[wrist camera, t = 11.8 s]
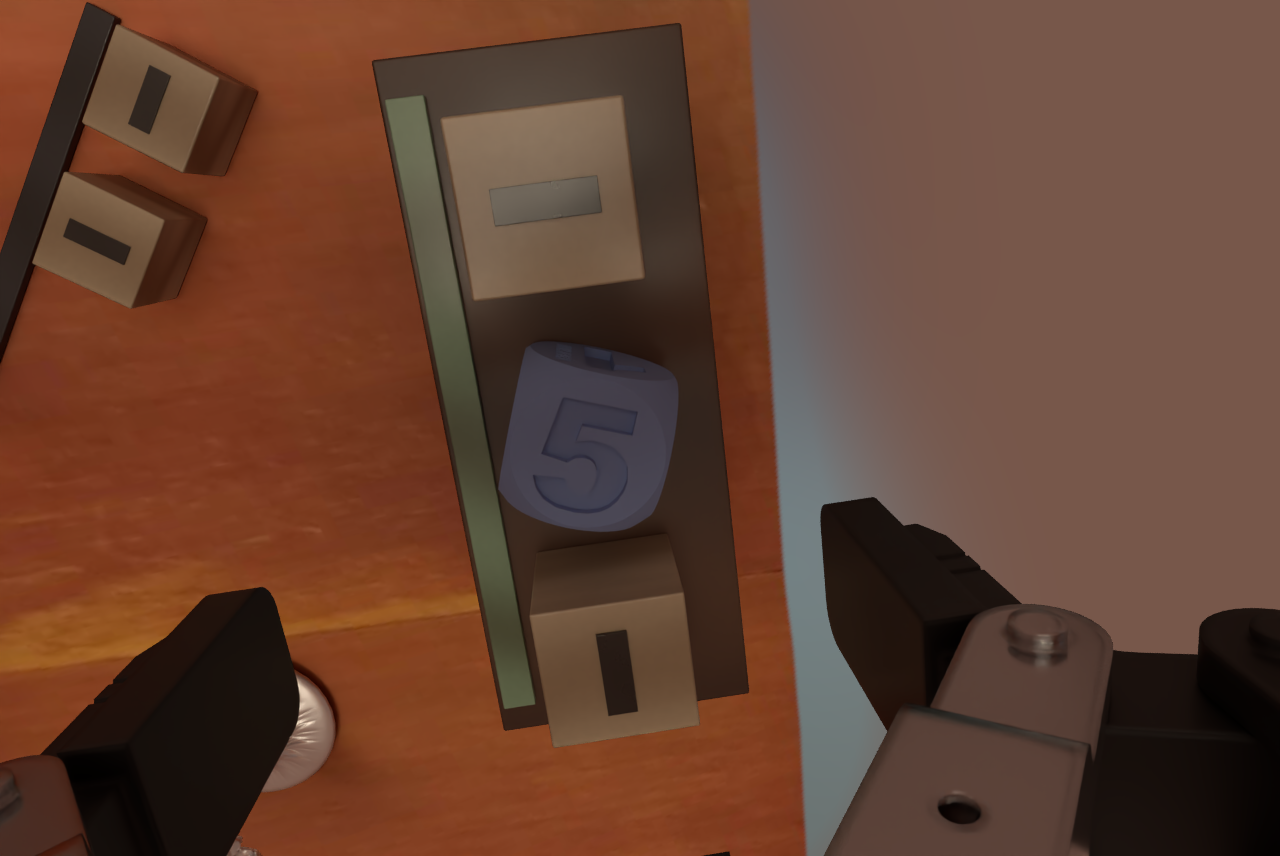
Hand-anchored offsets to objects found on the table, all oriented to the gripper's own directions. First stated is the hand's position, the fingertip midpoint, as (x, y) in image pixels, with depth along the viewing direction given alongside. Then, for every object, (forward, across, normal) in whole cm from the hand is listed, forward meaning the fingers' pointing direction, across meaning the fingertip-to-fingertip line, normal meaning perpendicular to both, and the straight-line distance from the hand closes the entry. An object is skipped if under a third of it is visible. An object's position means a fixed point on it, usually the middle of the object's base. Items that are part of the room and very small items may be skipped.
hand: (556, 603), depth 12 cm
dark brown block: (+28, 0, 0) cm, 28 cm away
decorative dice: (+12, 0, 0) cm, 12 cm away
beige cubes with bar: (+28, +20, -7) cm, 35 cm away
